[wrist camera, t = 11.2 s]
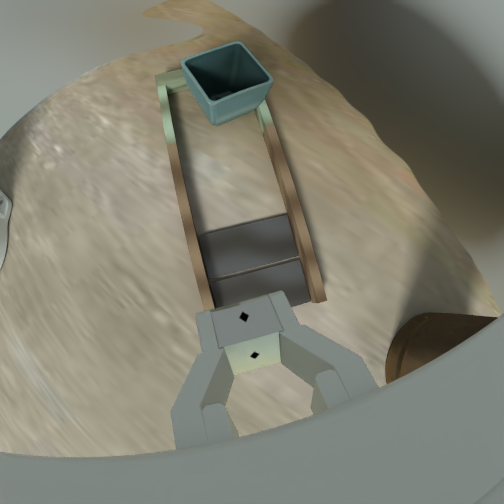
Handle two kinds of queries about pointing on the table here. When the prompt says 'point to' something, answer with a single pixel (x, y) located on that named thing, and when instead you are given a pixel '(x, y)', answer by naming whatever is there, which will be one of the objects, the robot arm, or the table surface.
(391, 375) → the wooden container
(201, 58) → the flower pot
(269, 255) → the channel
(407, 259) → the table surface
